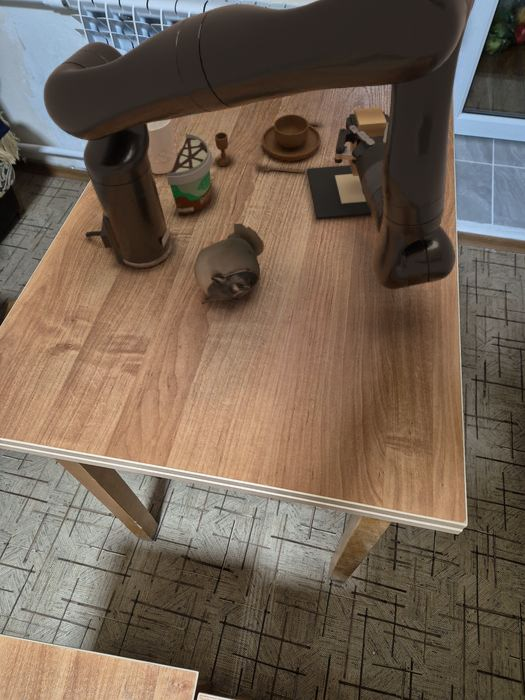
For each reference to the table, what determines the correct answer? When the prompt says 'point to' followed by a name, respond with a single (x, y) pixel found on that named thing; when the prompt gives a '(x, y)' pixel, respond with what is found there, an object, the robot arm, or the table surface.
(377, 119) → the tan block
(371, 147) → the robot arm
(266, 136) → the place setting
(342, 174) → the mat
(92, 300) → the table surface
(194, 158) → the food container
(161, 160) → the white cup
